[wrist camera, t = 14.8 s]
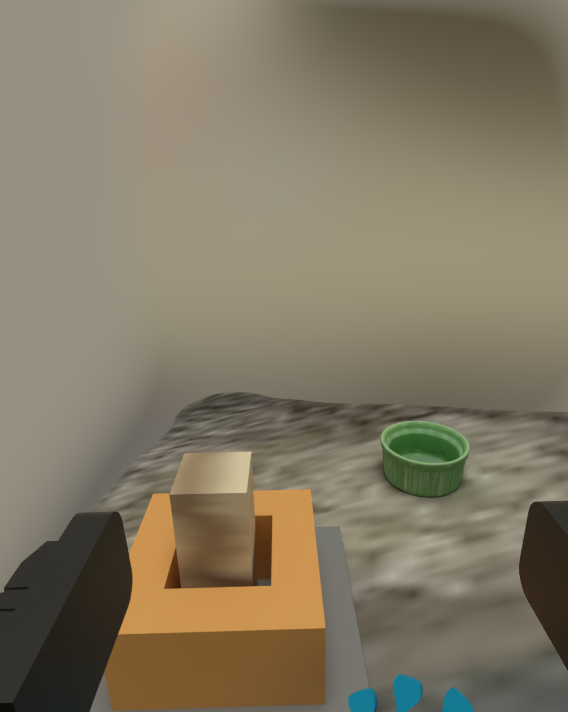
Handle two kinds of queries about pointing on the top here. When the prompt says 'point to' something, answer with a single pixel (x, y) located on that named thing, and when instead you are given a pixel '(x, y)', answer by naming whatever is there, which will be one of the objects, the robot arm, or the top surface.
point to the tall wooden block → (215, 520)
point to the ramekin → (424, 457)
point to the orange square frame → (239, 623)
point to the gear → (407, 697)
